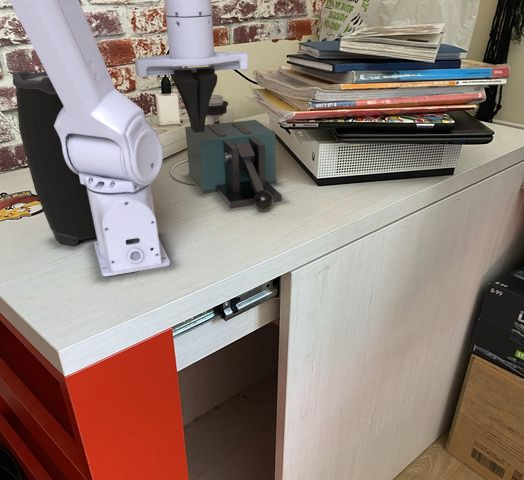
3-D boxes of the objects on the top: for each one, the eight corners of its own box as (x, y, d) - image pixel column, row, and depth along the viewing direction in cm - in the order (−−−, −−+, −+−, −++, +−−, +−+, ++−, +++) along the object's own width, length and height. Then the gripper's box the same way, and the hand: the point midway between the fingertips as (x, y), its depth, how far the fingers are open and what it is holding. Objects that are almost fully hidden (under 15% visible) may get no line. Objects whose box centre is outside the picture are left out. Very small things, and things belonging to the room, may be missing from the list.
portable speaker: (35, 243, 70) (-13, 76, 58) (82, 216, 77) (47, 63, 65) (88, 253, 67) (49, 81, 55) (132, 225, 74) (105, 66, 62)
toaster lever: (274, 213, 77) (277, 199, 75) (255, 216, 76) (258, 202, 74) (249, 154, 82) (251, 140, 79) (231, 157, 81) (233, 142, 79)
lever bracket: (281, 202, 81) (281, 148, 76) (230, 209, 78) (228, 155, 74) (258, 181, 88) (257, 131, 84) (211, 187, 86) (208, 137, 81)
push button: (210, 148, 104) (207, 91, 98) (236, 150, 102) (234, 93, 96) (197, 158, 99) (192, 99, 93) (224, 160, 97) (221, 101, 91)
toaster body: (276, 184, 87) (276, 132, 82) (203, 194, 83) (199, 140, 79) (256, 167, 94) (256, 118, 89) (188, 176, 90) (184, 125, 86)
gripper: (234, 10, 71) (238, 119, 79) (124, 15, 67) (140, 128, 75) (252, 14, 66) (254, 130, 74) (134, 20, 62) (150, 141, 70)
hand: (197, 130), depth 74 cm, fingers closed
